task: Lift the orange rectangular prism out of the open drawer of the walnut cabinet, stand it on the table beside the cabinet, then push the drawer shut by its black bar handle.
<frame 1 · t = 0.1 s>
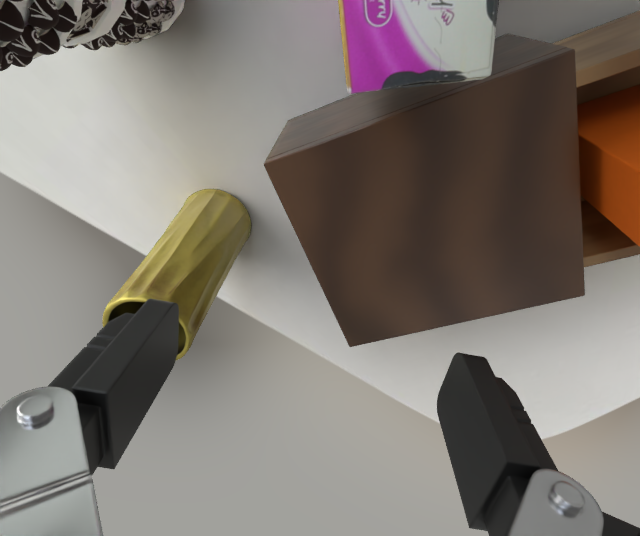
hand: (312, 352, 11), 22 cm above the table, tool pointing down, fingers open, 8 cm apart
orange rectangular prism: (605, 125, 26), point 2 cm above the table, touching drawer
cabinet: (415, 174, 31), on the table
vase: (218, 219, 35), on the table
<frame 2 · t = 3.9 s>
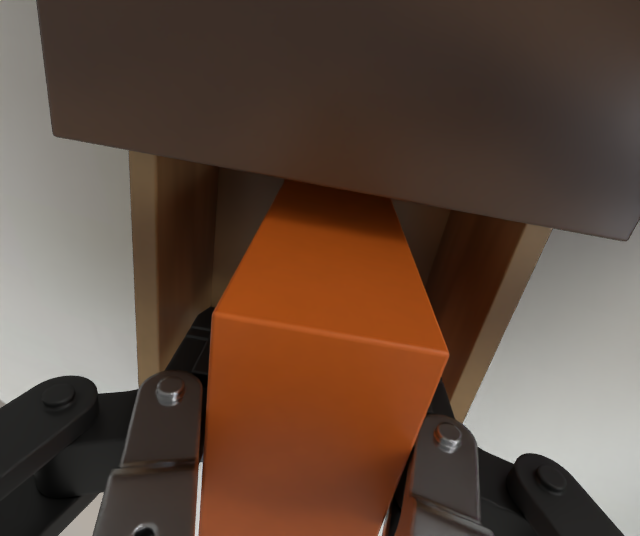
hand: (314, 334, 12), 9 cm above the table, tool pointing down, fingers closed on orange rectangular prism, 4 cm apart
orange rectangular prism: (324, 244, 19), point 2 cm above the table, touching drawer, gripper
drawer: (312, 319, 17), point 5 cm above the table, slide at 11.0 cm, touching orange rectangular prism
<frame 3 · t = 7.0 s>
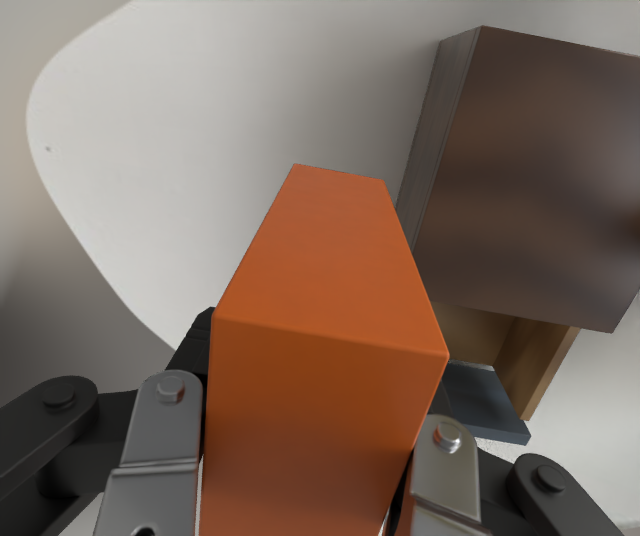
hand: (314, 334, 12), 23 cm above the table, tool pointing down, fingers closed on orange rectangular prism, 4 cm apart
orange rectangular prism: (325, 244, 19), point 15 cm above the table, touching gripper
cabinet: (499, 168, 32), on the table
drawer: (454, 353, 34), point 5 cm above the table, slide at 11.0 cm
when the fingers open (7 cm above the table, at t = 10.6 s): orange rectangular prism stays where it is, on the table.
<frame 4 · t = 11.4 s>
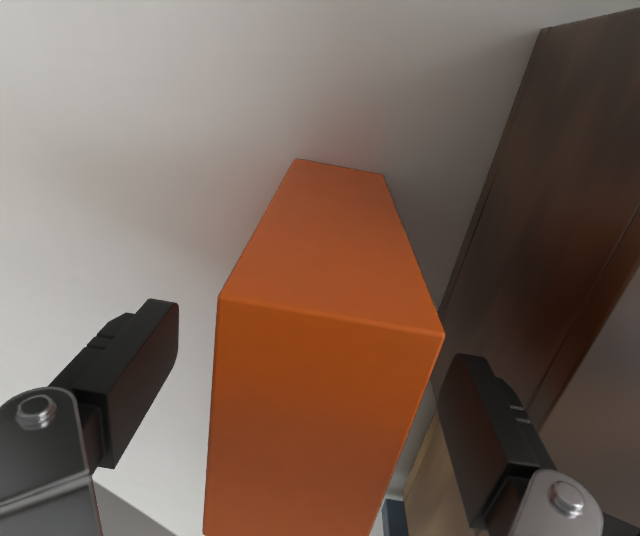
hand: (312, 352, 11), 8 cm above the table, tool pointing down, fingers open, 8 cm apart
orange rectangular prism: (325, 238, 19), on the table
cabinet: (622, 250, 19), on the table
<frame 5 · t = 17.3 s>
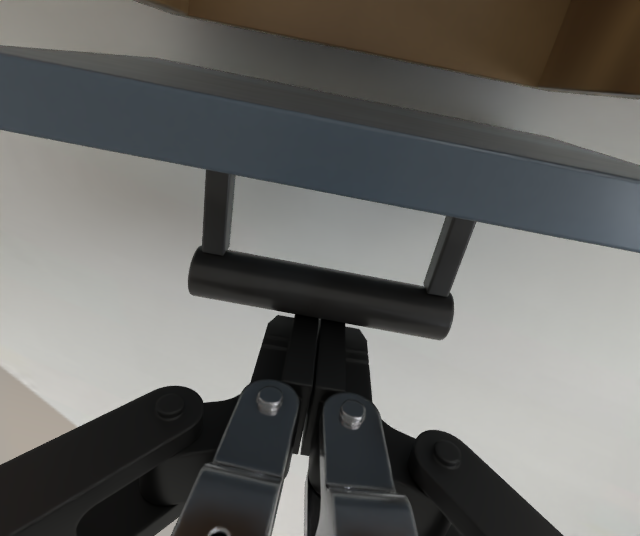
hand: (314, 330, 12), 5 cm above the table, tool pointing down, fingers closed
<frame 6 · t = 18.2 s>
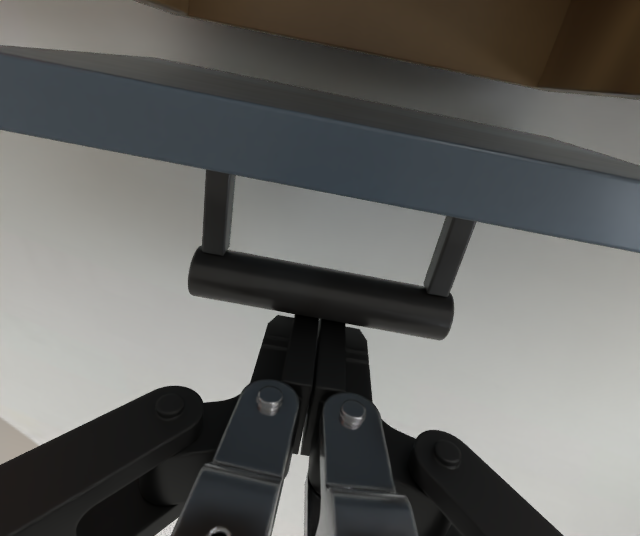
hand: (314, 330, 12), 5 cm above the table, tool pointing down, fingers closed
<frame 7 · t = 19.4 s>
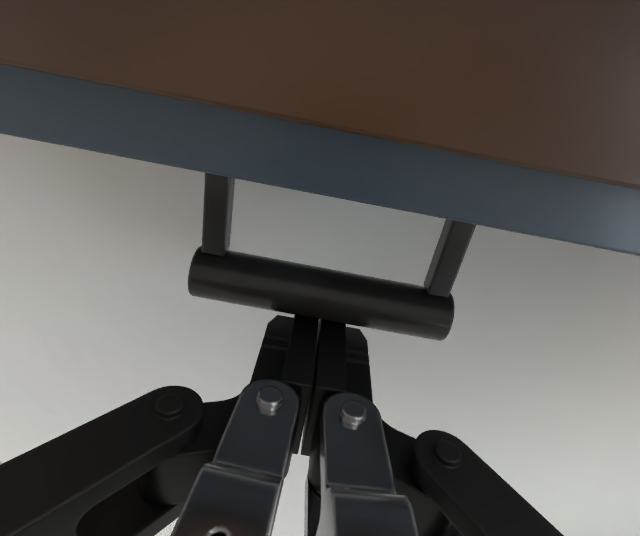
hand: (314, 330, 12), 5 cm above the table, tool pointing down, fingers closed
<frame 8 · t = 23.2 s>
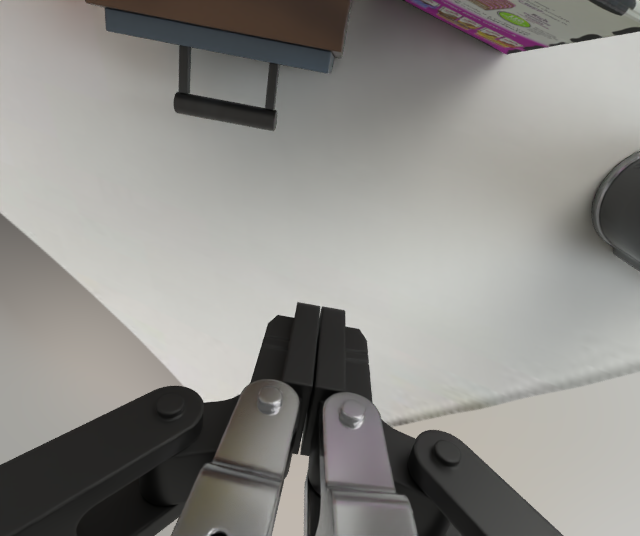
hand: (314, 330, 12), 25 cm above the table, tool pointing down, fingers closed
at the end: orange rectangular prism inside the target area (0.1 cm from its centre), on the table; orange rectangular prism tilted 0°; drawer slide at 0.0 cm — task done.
